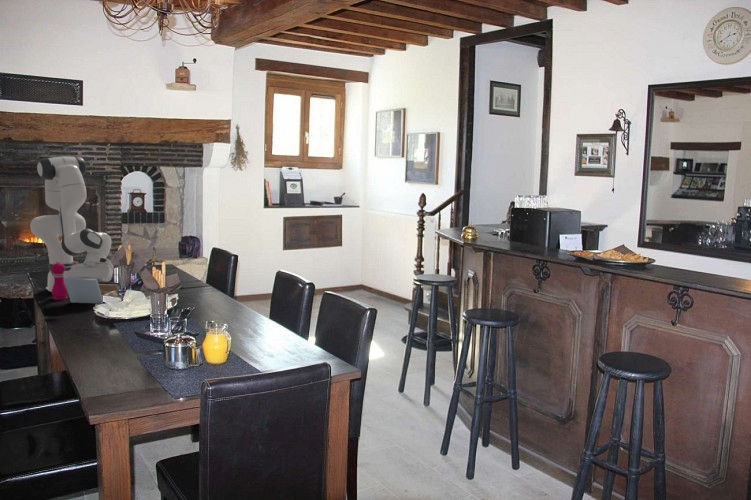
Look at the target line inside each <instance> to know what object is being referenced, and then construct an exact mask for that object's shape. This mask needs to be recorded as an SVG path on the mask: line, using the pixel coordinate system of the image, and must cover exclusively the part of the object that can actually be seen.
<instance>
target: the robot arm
mask: <svg viewBox="0 0 751 500" xmlns="http://www.w3.org/2000/svg"><path fill="white" fill-rule="evenodd" d="M36 168H37V170H36V171H37V173H38V176H39V177H40V178H41V179H42V180H44V195H45V197H44V198H45V200H44V201H45V204H46V205H47V206H48V207H49V208H51V209H53V210H56V211H58V212H59V214H49V215H48V214H47V215H40V216H37V217H34V218H32V219H31V221H30V226H29V227H30V232H31V233H32V234H33V235H34V236H35V237H37V238H38V239H40V240H41V241H42V242H43V243H44V244H45V246H46V249H47V253H48V259H49V260H48V261H49V263H48V271H49V272H48V273H47V286H46V287H45V290H47V291H48V292H51V293H52V288H53V286H54V277H53V274H54V273H53V272H52V271H51V267H52V266H53V265H54V264H56V261H57V260H59V261H60V263H61V264H63V265H64V266H65V271H64V275H65V276H64V279H65V278H86V279H97V281H98V282H110V281H111V280H112V278H113V274H114V265H113V263H112V262H111V260H110V259H108V258H107V256H109V253H110V251H111V247H112V241H113V240H112V238H111V236H110V235H109V234H108V233H106V232H103V231H99V232H97V231H94V230H92V229H90V228H87V222H86V219H85V217H83V216H82V215H81V214H79V213H78V210H79V209H80V208H81V207H82V206H83V204H85V202H86V200H87V198H88V197H87V195H88V194H87V187H86V184H85V179H84V176H85V175H86V173H87V164H86V161H85V159H83V157H81V156H75V155H74V156H67V155H66V156H63V155H62V156H57V157H56V156H55V157H54V156H53V157H44V158H40V160H38V162H37V165H36ZM59 237H61V240H59ZM83 252H86V253H87V254H86V256H85V259H84V262H79V261H74V257H75V256H76V257H77V256H78V255H80V254H81V253H83Z"/></svg>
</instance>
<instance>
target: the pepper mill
mask: <svg viewBox="0 0 751 500" xmlns="http://www.w3.org/2000/svg"><path fill="white" fill-rule="evenodd" d="M51 271H52V272H53V273H54V274H53V277H54V286H53V288H52V292H51V295H52V296H53V298H52V299H53V300H54V301H59V300H60V301H61V300H66V299H68V297H69V296H68V295H69V294H68V291H67V288H66V285H65V282H64V276H65V275H64V271H65V266H64V265H63V264H61V263H60V261H59V260H57V261H56V264H54V265H53V266H52V267H51Z"/></svg>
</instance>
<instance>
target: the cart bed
mask: <svg viewBox="0 0 751 500" xmlns="http://www.w3.org/2000/svg"><path fill="white" fill-rule="evenodd" d="M98 284H99V288H100V291H101V295H102V298H103V296H113V297H115V298H117V297H119V284H109V283H108V284H106V283H105V284H104V283H102V284H101V283H98Z"/></svg>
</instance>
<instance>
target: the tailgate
mask: <svg viewBox="0 0 751 500" xmlns="http://www.w3.org/2000/svg"><path fill="white" fill-rule="evenodd" d="M64 282H65V285H66V288H67V291H68V294H67V295H68V297H69V301H70V303H73V304H75V303H78V304H104V303H103V298H102V295H101V291H100V288H99V284H100V283H99V281H97V279H86V278H65V279H64Z"/></svg>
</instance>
